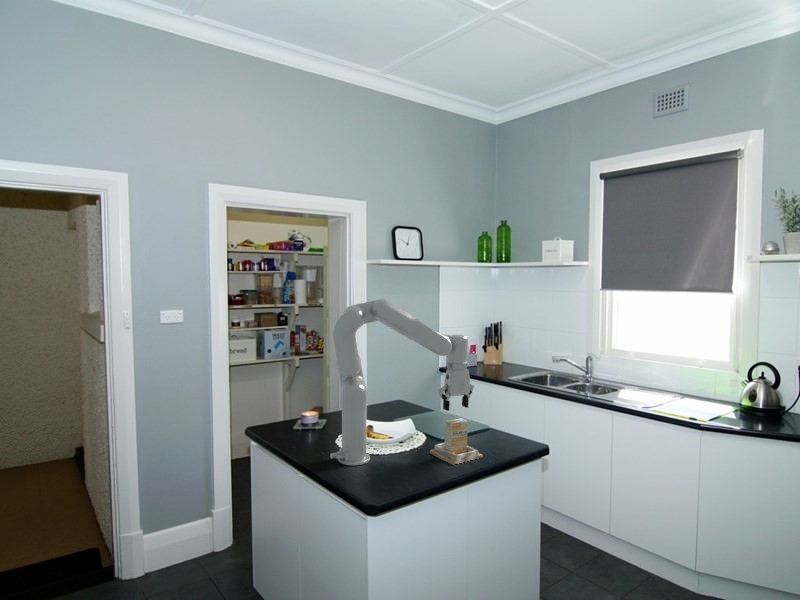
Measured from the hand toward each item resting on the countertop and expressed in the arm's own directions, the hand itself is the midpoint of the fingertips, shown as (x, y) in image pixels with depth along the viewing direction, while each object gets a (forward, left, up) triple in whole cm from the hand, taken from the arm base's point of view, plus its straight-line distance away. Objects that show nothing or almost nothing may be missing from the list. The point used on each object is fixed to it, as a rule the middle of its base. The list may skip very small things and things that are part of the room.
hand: (455, 408), depth 200 cm
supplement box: (+1, 0, -18) cm, 18 cm away
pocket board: (0, 0, -19) cm, 19 cm away
